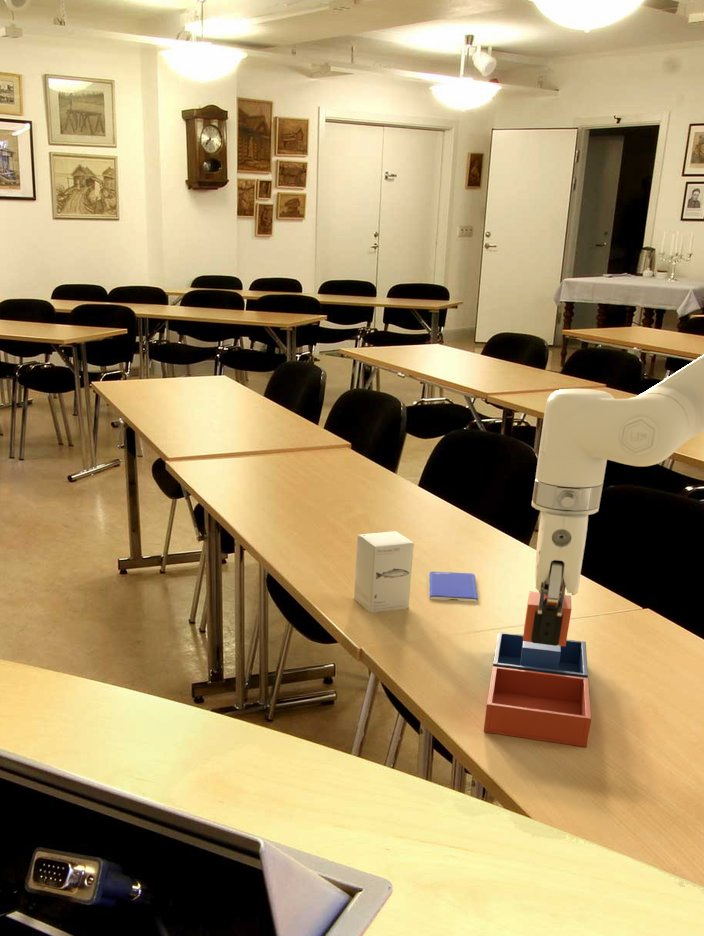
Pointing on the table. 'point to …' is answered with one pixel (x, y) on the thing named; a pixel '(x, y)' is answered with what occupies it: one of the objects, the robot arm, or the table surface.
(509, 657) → the blue bin
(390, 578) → the white packaging box
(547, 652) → the blue block
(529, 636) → the rust block
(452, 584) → the hard drive
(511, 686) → the rust bin
